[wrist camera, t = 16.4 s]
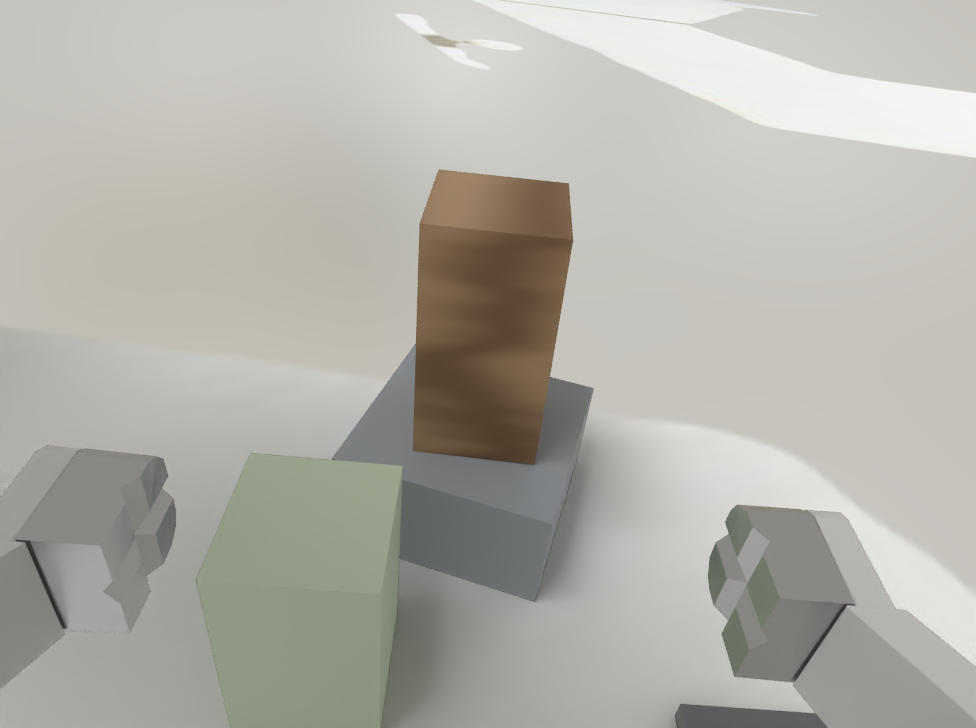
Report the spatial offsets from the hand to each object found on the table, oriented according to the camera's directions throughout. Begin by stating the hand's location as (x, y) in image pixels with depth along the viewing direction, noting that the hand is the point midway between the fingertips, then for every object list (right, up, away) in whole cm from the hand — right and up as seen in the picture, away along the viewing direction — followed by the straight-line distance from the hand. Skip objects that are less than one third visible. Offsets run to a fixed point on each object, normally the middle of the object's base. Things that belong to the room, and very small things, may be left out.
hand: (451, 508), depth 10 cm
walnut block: (0, 0, +20) cm, 20 cm away
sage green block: (-6, -9, +16) cm, 19 cm away
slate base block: (-1, -4, +23) cm, 24 cm away
